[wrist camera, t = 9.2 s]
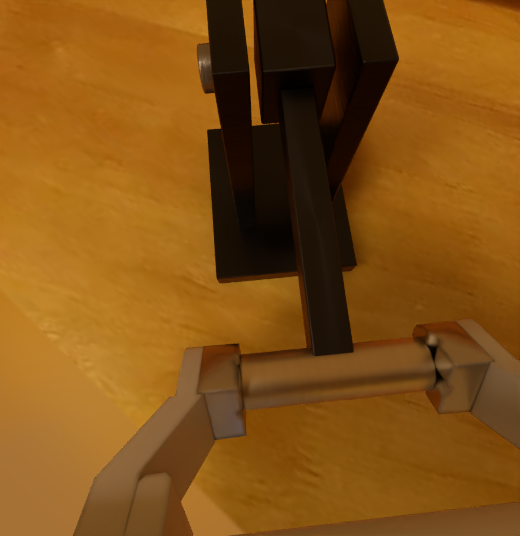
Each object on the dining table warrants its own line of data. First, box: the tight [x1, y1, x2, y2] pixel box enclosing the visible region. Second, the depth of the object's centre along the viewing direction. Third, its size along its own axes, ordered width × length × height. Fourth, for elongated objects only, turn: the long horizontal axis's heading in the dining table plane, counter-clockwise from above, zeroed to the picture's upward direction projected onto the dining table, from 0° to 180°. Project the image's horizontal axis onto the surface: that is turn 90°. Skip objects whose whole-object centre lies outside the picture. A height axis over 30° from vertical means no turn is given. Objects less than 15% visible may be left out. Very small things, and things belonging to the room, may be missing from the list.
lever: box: [239, 0, 436, 410], centre depth 10 cm, size 12×5×2 cm, turn 6°
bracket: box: [197, 0, 399, 283], centre depth 14 cm, size 10×8×12 cm
